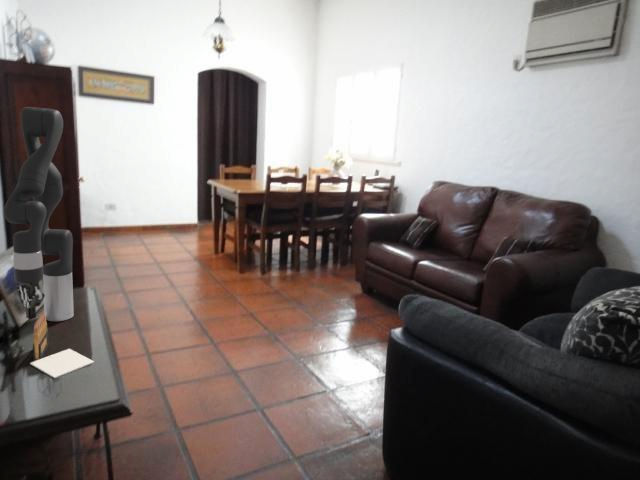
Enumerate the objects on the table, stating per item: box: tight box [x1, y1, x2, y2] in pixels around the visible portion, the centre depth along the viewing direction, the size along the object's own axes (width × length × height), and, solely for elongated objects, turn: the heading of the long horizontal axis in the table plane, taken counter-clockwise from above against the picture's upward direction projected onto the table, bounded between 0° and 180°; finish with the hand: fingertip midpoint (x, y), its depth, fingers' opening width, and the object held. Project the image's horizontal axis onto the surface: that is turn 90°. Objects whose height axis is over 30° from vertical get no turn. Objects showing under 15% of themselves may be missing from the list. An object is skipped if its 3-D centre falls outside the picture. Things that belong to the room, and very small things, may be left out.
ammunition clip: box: [32, 310, 50, 361], centre depth 138 cm, size 11×2×12 cm, turn 19°
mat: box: [29, 348, 95, 379], centre depth 134 cm, size 13×12×1 cm
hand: (31, 317), depth 139 cm, fingers closed
